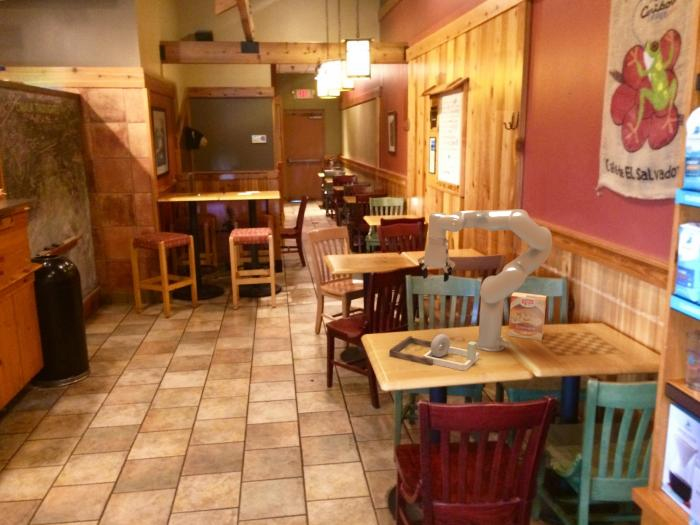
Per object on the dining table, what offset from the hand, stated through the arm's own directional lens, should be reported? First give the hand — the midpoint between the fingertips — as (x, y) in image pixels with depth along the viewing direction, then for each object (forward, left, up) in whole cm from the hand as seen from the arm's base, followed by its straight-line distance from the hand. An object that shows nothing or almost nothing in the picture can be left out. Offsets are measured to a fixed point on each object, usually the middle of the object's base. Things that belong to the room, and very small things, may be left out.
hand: (435, 279), depth 259 cm
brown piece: (-2, +18, -28) cm, 33 cm away
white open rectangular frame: (-16, +18, -28) cm, 37 cm away
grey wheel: (-10, +16, -28) cm, 34 cm away
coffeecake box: (-34, -29, -29) cm, 53 cm away
